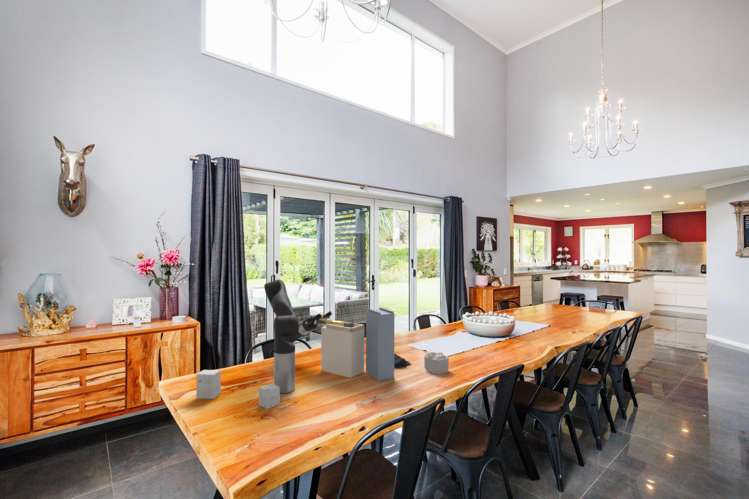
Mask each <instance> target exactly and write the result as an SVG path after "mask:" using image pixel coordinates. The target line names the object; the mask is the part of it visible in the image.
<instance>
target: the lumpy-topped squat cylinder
mask: <svg viewBox="0 0 749 499" xmlns="http://www.w3.org/2000/svg"><path fill="white" fill-rule="evenodd" d="M423 358H424V360H423V361H424V364H423V366H424V367H423V368H425V369H426V370H427V371H426V370H425V369H424V370H425V371H426V372H428V371H430V372H429V373H431V372H434V373H442V374H444V373H443V372H445V373H447V372H446V371H448V370H449V368H450V367H449V363H450V362H449V357H448V356H447V355H445V354H444V353H443V352H441V351H440V352H435V351H431V352H426V353H425V354H424V357H423ZM448 372H449V371H448ZM434 373H433V374H434Z"/></svg>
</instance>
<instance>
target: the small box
mask: <svg viewBox="0 0 749 499" xmlns="http://www.w3.org/2000/svg"><path fill="white" fill-rule="evenodd" d="M195 375H196V377H195V378H196V379H195V381H196V383H195V384H196V389H195V391H196V399H198V400H199V399H201V400H214V399H216V398H217V397H219V396H220V395H221V394H222V391H221V390H222V388H221V377H222V376H221V370H219V369H218V370H217V369H203V370H201V371H199V372H197V373H196V374H195Z"/></svg>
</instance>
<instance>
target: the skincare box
mask: <svg viewBox="0 0 749 499" xmlns="http://www.w3.org/2000/svg"><path fill="white" fill-rule="evenodd" d="M280 396H281V393H280V387H279V386H276V385H274V383H268V384H266V385H261V386H260V387H258V405H259V406H260V407H262V408H264V409H266V410H269V409H271V408H274V407H277V406H279V405H280V404H281V403H280V402H281V400H280V399H281V398H280Z"/></svg>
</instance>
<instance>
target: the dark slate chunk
mask: <svg viewBox="0 0 749 499" xmlns="http://www.w3.org/2000/svg"><path fill="white" fill-rule="evenodd" d="M411 365H412V364H411V362H409V361H408V360H406V358H404V357H402V356H400V355H398V354H396V353H394V369H399V368H401V367H402V368H406V367H409V366H411Z"/></svg>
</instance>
